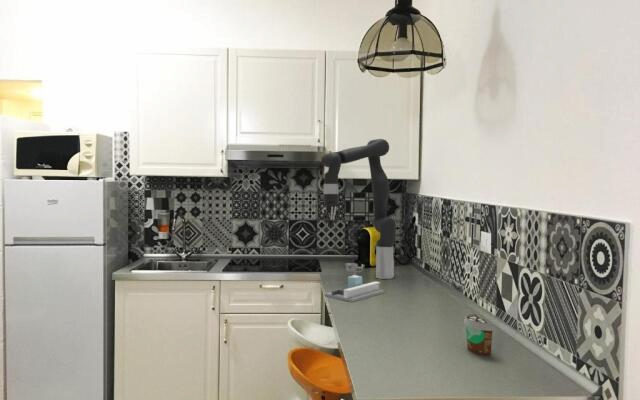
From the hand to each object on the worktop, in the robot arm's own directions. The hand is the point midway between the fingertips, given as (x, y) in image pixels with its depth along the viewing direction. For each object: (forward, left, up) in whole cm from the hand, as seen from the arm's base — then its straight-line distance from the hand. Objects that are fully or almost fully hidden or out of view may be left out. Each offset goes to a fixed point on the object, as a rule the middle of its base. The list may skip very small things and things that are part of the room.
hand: (330, 227), depth 235 cm
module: (+8, +22, -28) cm, 36 cm away
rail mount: (+8, +22, -29) cm, 37 cm away
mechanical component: (-11, +7, -29) cm, 32 cm away
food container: (+40, +93, -29) cm, 105 cm away
